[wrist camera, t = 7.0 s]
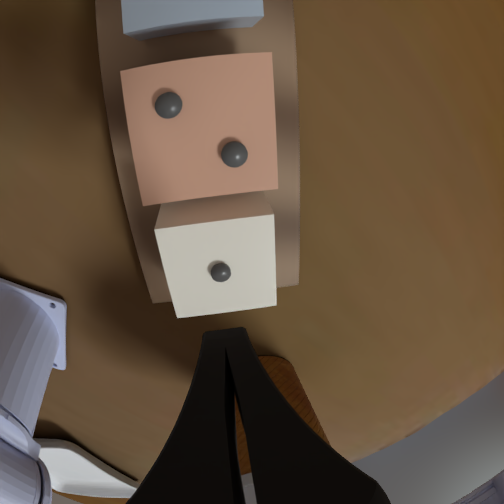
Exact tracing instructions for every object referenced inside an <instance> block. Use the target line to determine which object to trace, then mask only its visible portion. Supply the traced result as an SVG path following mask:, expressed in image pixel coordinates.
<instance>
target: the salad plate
mask: <svg viewBox="0 0 504 504" xmlns="http://www.w3.org/2000/svg"><path fill="white" fill-rule="evenodd" d="M32 439H33V440H34V441H36V442H37V443H38V444H40V445H41V448H40V453H39V458H40V459H41V460H42V461H43V462H44V464H45V465H46V467H47V469H48V472H49V475H50V480H51V487H52V488H53V489H55V490H57V491H59V492H64V493H70V494H77V495H85V496H94V497H113V498H131V496H132V495H133V494H134V493H135V491H136V490H137V489H138V487H139V486H140V484H139V483H137V482H135V481H134V480H132V479H130V478H129V477H127V476H125V475H123V474H121V473H119V472H118V471H116V470H114V469H113V468H111V467H110V466H108V465H107V464H105V463H103V462H102V461H100V460H99V459H97V458H96V457H94V456H92V455H91V454H89V453H88V452H86V451H85V450H83V449H82V448H80V447H79V446H78V445H76V444H74V443H72V442H69V441H66V440H60V439H43V438H32Z"/></svg>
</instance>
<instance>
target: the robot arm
mask: <svg viewBox="0 0 504 504" xmlns="http://www.w3.org/2000/svg"><path fill="white" fill-rule="evenodd" d="M52 303H54V304H55V305H54V304H52ZM66 311H67V305H66V303H65V302H64V301H63V300H61V299H59V298H56V297H53V296H50V295H47V294H44V293H41V292H38V291H35V290H32V289H29V288H26V287H24V286H21V285H18V284H15V283H13V282H10V281H7V280H5V279H2V278H0V504H51V502H52V487H51V480H50V475H49V472H48V469H47V467H46V465H45V464H44V462H43V461H42V460H41V459H40V458H39V453H40V448H41V445H40V444H38V443H37V442H36V441H34V440H33V439H32V438H33V434H34V430H35V426H36V422H37V418H38V414H39V410H40V406H41V403H42V399H43V396H44V392H45V389H46V385H47V382H48V379H49V376H50V373H51V369H52V367H53V368H56V369H59V370H65V368H66ZM234 393H235V394H234ZM235 397H236V401H237V405H238V409H239V413H240V417H241V421H242V425H243V428H244V432H245V436H246V441H247V448H248V454H249V460H250V466H251V472H252V478H253V484H254V490H255V496H256V502H257V504H391V503H390V501H389V499H388V497H387V495H386V493H385V492H384V490H383V489H382V488H381V486H380V485H379V484H378V483H377V481H376V480H374V479H373V478H371V477H370V476H368V475H367V474H365V473H364V472H362V471H361V470H360V469H358V468H357V467H355V466H354V465H352V464H351V463H350V462H349V461H348V460H346V459H345V458H344V457H342V456H341V455H340V454H339V453H337V452H336V451H335V450H334V449H333V448H332V447H331V446H330V445H329V444H327V443H326V442H325V441H324V440H323V439H322V438H321V437H320V436H319V435H318V434H317V433H315V432H314V431H313V429H312V428H311V427H310V426H309V425H308V424H307V423H306V422H305V421H304V420H303V419H302V418H301V417H300V416H299V414H298V413H297V412H296V411H295V410H294V409H293V407H292V406H291V405H290V404H289V403H288V401H287V400H286V399H285V397H284V396H283V395H282V393H281V392H280V391H279V389H278V388H277V387H276V385H275V384H274V382H273V381H272V379H271V378H270V376H269V375H268V373H267V371H266V370H265V368H264V367H263V365H262V363H261V362H260V360H259V358H258V356H257V354H256V352H255V351H254V349H253V346H252V344H251V342H250V340H249V337H248V334H247V331H246V329H245V328H243V327H238V328H230V329H223V330H215V331H207V332H205V333H204V334H203V336H202V344H201V350H200V354H199V358H198V362H197V366H196V369H195V373H194V376H193V379H192V383H191V386H190V389H189V391H188V394H187V397H186V399H185V402H184V405H183V407H182V410H181V412H180V415H179V417H178V419H177V421H176V424H175V426H174V428H173V430H172V432H171V434H170V436H169V438H168V440H167V442H166V444H165V446H164V447H163V449H162V451H161V453H160V455H159V456H158V458H157V460H156V461H155V463H154V465H153V466H152V468H151V469H150V471H149V472H148V474H147V475H146V477H145V478H144V480H143V481H142V483H141V484H140V486H139V487H138V489H137V490H136V491H135V493H134V494H133V495H132V496H131V498H130V499H129V500H128V501H127V503H126V504H246V501H245V496H244V490H243V484H242V478H241V472H240V466H239V460H238V451H237V435H236V415H235ZM452 504H504V470H503V471H501V472H500V473H499V474H497V475H496V476H494V477H493V478H492V479H491V480H489V481H487V482H486V483H484V484H483V485H481V486H480V487H478V488H477V489H475V490H474V491H472V492H471V493H469V494H468V495H466V496H464V497H463V498H461V499H459V500H458V501H456V502H454V503H452Z"/></svg>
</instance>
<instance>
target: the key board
mask: <svg viewBox="0 0 504 504" xmlns="http://www.w3.org/2000/svg"><path fill="white" fill-rule="evenodd" d="M95 8H96V25H97V38H98V50H99V60H100V69H101V77H102V85H103V92H104V99H105V106H106V113H107V119H108V125H109V131H110V136H111V142H112V147H113V152H114V157H115V162H116V167H117V172H118V177H119V181H120V186H121V190H122V195H123V199H124V203H125V207H126V211H127V215H128V219H129V223H130V227H131V231H132V235H133V239H134V242H135V246H136V250H137V253H138V257H139V260H140V264H141V267H142V270H143V274H144V277H145V280H146V284H147V287H148V290H149V293H150V296H151V300H152V303H162V302H171V301H172V298H171V294H170V291H169V287H168V283H167V279H166V276H165V272H164V268H163V264H162V260H161V256H160V252H159V248H158V243H157V239H156V235H155V231H154V229H155V225H156V221H157V218H158V214H159V210H160V207H161V204H154V205H148V206H143V204H142V199H141V195H140V190H139V185H138V180H137V175H136V170H135V165H134V159H133V154H132V148H131V143H130V137H129V131H128V125H127V118H126V112H125V105H124V98H123V90H122V82H121V74H120V71H123V70H128V69H132V68H137V67H142V66H147V65H152V64H158V63H163V62H169V61H176V60H183V59H190V58H198V57H206V56H216V55H227V54H241V53H261V52H272V62H273V79H274V97H275V118H276V140H277V166H278V189H273V190H263V192H264V194H265V196H266V198H267V200H268V203H269V205H270V207H271V209H272V211H273V213H274V227H275V260H276V288H279V287H286V286H292V285H299V247H300V147H299V106H298V80H297V58H296V40H295V24H294V10H293V0H263V10H264V17H263V18H261V19H260V20H259V21H258V22H257V23H256V24H255V25H254V26H253V27H244V28H228V29H215V30H205V31H196V32H188V33H181V34H174V35H168V36H162V37H156V38H151V39H146V40H141V41H139V40H136V39H134V38H132V37H130V36H128V35H126V34H123V22H122V6H121V0H95Z"/></svg>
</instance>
